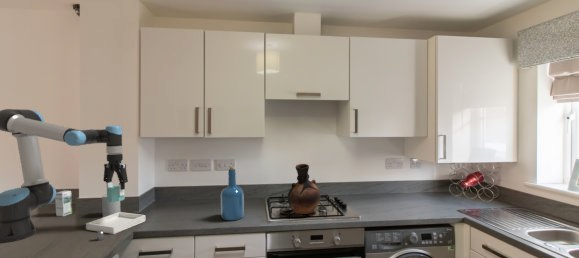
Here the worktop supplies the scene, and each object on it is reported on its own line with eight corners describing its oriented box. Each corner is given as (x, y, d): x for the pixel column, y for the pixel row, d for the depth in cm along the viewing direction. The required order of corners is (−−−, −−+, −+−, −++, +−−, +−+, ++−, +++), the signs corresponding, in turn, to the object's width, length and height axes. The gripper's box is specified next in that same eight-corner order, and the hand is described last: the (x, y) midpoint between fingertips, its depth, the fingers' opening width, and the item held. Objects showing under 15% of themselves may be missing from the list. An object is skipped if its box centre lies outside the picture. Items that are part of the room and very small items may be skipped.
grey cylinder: (106, 218, 170) (105, 197, 170) (99, 215, 176) (99, 195, 176) (123, 214, 178) (122, 194, 178) (116, 211, 184) (116, 192, 183)
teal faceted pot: (127, 198, 161) (127, 186, 161) (114, 202, 154) (114, 189, 153) (117, 197, 164) (116, 185, 164) (104, 201, 156) (103, 188, 156)
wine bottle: (235, 222, 161) (234, 169, 160) (216, 219, 166) (215, 167, 166) (248, 215, 173) (248, 165, 172) (230, 212, 179) (229, 164, 178)
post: (99, 240, 138) (99, 232, 138) (96, 240, 139) (95, 231, 139) (104, 238, 141) (104, 230, 141) (101, 238, 142) (100, 230, 141)
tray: (113, 234, 147) (113, 227, 146) (86, 229, 153) (85, 223, 153) (145, 220, 165) (145, 215, 165) (119, 217, 172) (119, 211, 172)
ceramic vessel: (314, 207, 188) (314, 161, 187) (326, 215, 171) (325, 165, 170) (283, 210, 181) (283, 163, 180) (292, 219, 164) (292, 167, 163)
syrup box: (63, 216, 175) (62, 192, 175) (55, 215, 176) (54, 192, 176) (72, 213, 181) (71, 190, 180) (64, 213, 182) (63, 190, 181)
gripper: (134, 153, 158) (136, 194, 159) (107, 152, 165) (108, 191, 166) (122, 155, 151) (124, 198, 152) (94, 153, 158) (95, 195, 159)
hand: (116, 194), depth 159 cm, fingers closed on teal faceted pot, 8 cm apart
